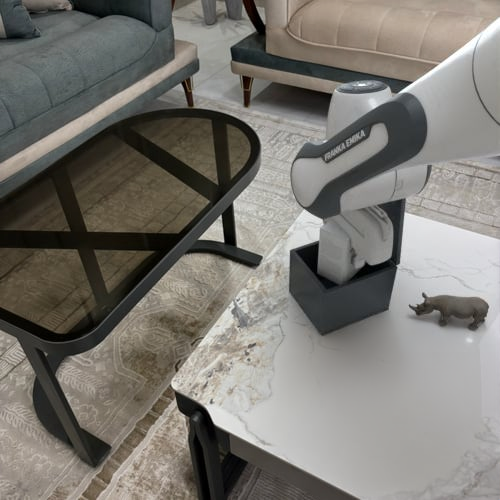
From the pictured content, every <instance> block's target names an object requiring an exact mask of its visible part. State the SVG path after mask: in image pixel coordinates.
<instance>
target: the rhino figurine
mask: <svg viewBox="0 0 500 500" xmlns="http://www.w3.org/2000/svg"><path fill="white" fill-rule="evenodd" d="M421 297H422V298H423V299H424V301H423V302H422V303H419V304H418V303H416V306H415V305H411V304H410V303H409V304H408V307H409V309H411V310H412V311H414V312H415V315H416V316H417V317H420V316H425V315H430V314H432V313H433V312H434V311H437V312H439V313H440V314H441V317H442V318H441V319H439V321H438V322H439V323H438V325H439V326H441V327H446V326H447V325H448V323H449V322H448V321H449V319H450V318H451V317H454V318H456V319H459V320H468V319H471V318H472V322H470V323H468V325H467V329H468V330H471V331H476V330H477V329H479V325H480V324H481V323H485V322H486V318H487V317H488V313H489V309H490V305H489V303H488V302H487V301H486V300H485V299H483V298H482V297H480V296H458V295H457V296H456V295H450V294H438V295H434V296H428V295H427V294H426V293H425V291H424V292H423V291H422V292H421Z"/></svg>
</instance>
